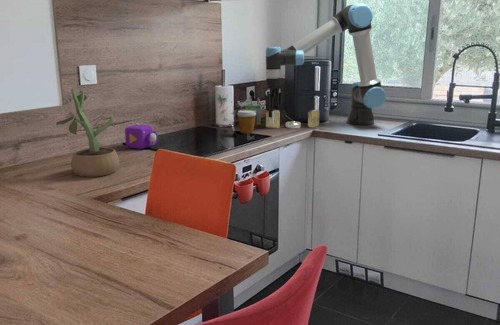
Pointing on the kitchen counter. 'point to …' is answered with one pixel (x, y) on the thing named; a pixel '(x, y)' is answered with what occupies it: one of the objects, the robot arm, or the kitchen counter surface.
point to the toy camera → (140, 136)
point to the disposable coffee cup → (246, 121)
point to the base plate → (293, 124)
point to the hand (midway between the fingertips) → (273, 122)
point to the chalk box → (257, 109)
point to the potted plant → (91, 145)
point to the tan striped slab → (276, 120)
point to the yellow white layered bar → (313, 118)
